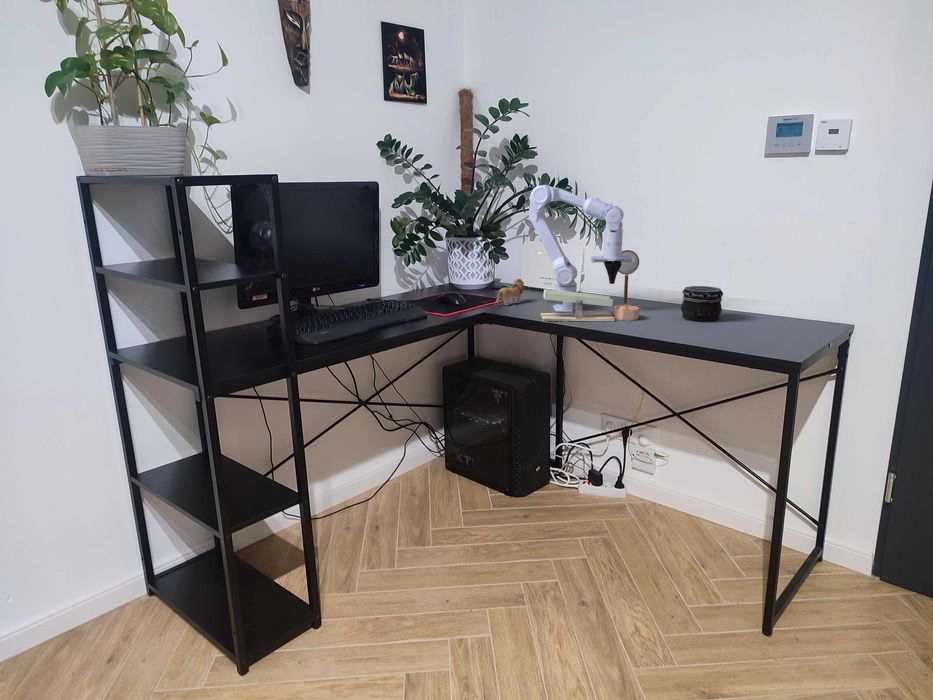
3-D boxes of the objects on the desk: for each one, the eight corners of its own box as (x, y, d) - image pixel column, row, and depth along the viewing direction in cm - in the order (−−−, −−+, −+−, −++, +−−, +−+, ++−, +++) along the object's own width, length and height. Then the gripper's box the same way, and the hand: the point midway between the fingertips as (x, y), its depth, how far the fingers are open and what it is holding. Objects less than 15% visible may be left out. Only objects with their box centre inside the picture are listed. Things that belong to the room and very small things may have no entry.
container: (716, 314, 222) (719, 285, 219) (725, 323, 210) (727, 292, 207) (677, 314, 224) (679, 284, 221) (683, 322, 211) (685, 291, 209)
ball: (620, 303, 219) (629, 308, 220) (614, 312, 220) (623, 317, 221) (622, 305, 216) (631, 310, 216) (616, 314, 217) (625, 319, 217)
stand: (540, 315, 225) (541, 294, 223) (609, 314, 224) (609, 293, 222) (543, 322, 214) (543, 300, 213) (615, 321, 214) (615, 299, 212)
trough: (541, 296, 227) (542, 286, 226) (607, 303, 227) (609, 293, 226) (544, 303, 215) (545, 292, 214) (614, 310, 215) (615, 299, 214)
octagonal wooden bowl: (611, 315, 223) (611, 305, 222) (635, 315, 223) (635, 305, 222) (615, 320, 215) (616, 310, 214) (640, 320, 215) (641, 310, 214)
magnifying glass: (614, 306, 237) (616, 250, 232) (612, 305, 239) (614, 250, 234) (637, 306, 238) (640, 250, 233) (636, 305, 240) (639, 249, 234)
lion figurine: (515, 301, 251) (516, 277, 249) (527, 302, 248) (527, 278, 246) (491, 307, 241) (491, 282, 238) (503, 309, 237) (503, 284, 235)
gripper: (593, 244, 219) (592, 285, 223) (637, 244, 219) (635, 285, 222) (590, 242, 226) (589, 282, 230) (633, 242, 226) (631, 281, 229)
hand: (611, 283), depth 226 cm, fingers closed
